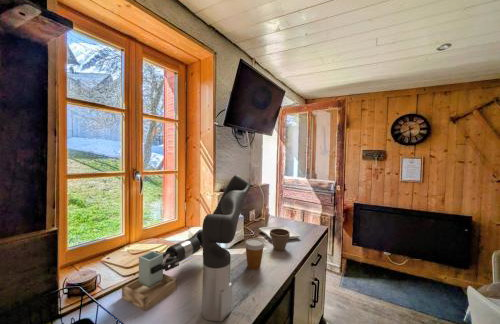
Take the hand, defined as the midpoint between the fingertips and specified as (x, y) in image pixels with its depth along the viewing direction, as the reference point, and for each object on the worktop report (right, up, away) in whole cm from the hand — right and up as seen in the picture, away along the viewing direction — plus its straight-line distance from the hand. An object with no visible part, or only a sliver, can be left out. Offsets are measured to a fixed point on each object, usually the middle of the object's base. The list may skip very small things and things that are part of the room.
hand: (145, 268), depth 82 cm
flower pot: (+56, -11, +46) cm, 73 cm away
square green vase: (+1, -6, +2) cm, 6 cm away
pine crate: (+1, -10, +2) cm, 11 cm away
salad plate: (+58, -11, +68) cm, 90 cm away
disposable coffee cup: (+41, -11, +25) cm, 49 cm away
